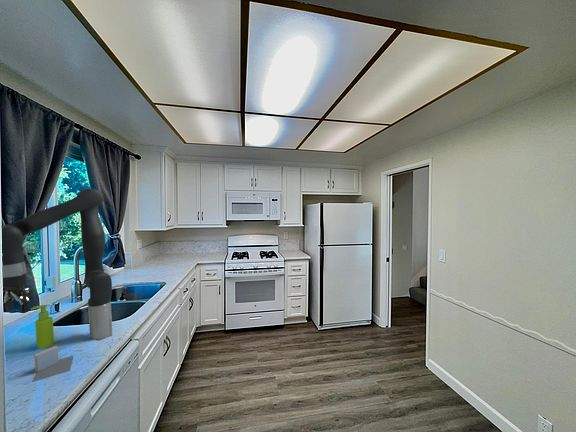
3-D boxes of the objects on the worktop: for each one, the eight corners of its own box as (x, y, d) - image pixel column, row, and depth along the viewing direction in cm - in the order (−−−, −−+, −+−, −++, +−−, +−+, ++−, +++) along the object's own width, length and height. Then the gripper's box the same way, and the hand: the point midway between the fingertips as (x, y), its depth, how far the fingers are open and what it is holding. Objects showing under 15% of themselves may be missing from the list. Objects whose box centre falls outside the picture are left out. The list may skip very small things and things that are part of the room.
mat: (73, 356, 111) (73, 355, 111) (70, 371, 101) (69, 370, 101) (39, 366, 105) (39, 364, 105) (31, 383, 95) (31, 382, 95)
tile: (35, 371, 101) (34, 354, 100) (57, 361, 107) (56, 345, 107) (37, 372, 100) (35, 356, 100) (59, 362, 106) (57, 346, 106)
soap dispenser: (35, 345, 119) (32, 305, 118) (55, 341, 123) (52, 301, 122) (32, 352, 115) (29, 309, 113) (52, 346, 119) (50, 306, 117)
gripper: (-12, 275, 101) (-7, 314, 102) (14, 277, 98) (19, 317, 99) (12, 270, 108) (16, 306, 109) (37, 271, 105) (41, 308, 106)
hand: (17, 311), depth 104 cm, fingers open, 8 cm apart
